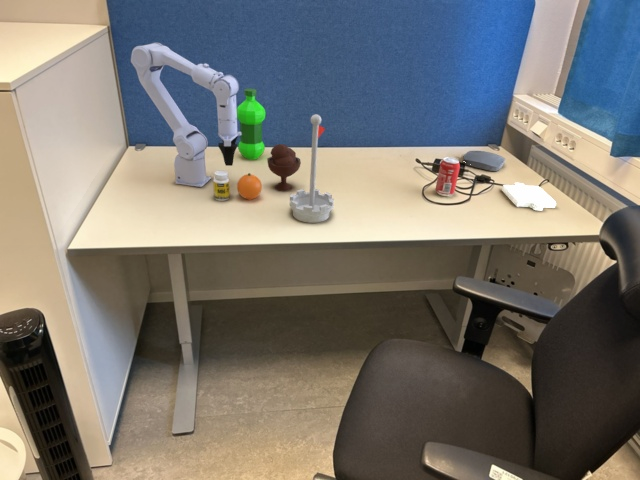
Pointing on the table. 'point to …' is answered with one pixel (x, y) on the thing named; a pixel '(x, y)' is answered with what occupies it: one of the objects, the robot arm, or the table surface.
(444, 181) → the beverage can
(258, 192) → the orange
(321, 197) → the flag stand
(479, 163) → the media streaming box
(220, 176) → the supplement bottle
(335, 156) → the table surface
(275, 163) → the ice cream bowl
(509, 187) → the mounting plate
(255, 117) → the plastic bottle
